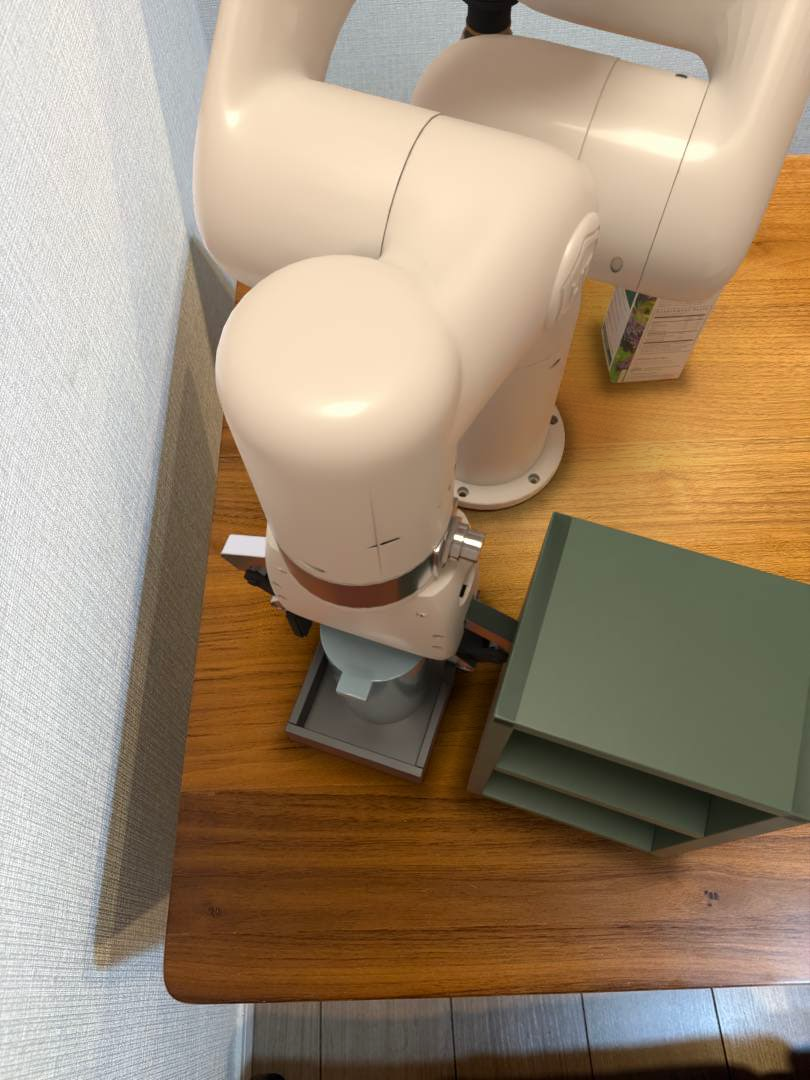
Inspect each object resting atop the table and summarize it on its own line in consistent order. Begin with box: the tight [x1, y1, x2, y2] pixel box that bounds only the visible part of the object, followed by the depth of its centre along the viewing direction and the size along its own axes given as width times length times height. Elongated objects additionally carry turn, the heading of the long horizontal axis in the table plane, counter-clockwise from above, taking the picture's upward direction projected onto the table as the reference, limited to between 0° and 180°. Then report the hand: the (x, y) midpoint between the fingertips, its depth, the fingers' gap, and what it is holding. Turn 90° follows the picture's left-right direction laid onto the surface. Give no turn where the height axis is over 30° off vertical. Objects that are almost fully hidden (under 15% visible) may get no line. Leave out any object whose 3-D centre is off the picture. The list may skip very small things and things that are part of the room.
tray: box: [284, 589, 482, 786], centre depth 56 cm, size 13×9×3 cm
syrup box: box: [600, 285, 725, 384], centre depth 62 cm, size 6×6×14 cm
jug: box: [319, 623, 431, 724], centre depth 52 cm, size 10×6×11 cm, turn 161°
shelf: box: [465, 511, 810, 859], centre depth 45 cm, size 10×13×22 cm
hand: (381, 638), depth 50 cm, fingers open, 9 cm apart
